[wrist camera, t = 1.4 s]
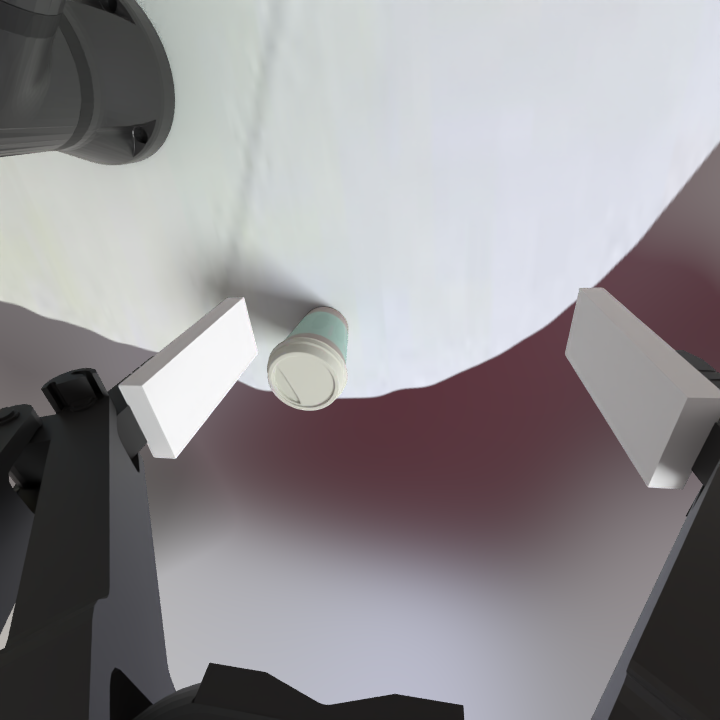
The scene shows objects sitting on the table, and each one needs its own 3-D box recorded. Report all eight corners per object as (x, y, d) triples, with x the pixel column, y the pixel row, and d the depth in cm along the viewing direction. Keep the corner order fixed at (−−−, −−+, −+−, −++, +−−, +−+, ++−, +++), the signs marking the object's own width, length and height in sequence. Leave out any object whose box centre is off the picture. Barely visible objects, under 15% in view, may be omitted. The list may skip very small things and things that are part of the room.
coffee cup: (294, 290, 45) (261, 339, 35) (363, 303, 45) (349, 356, 35) (292, 348, 50) (262, 406, 40) (354, 360, 50) (339, 421, 40)
